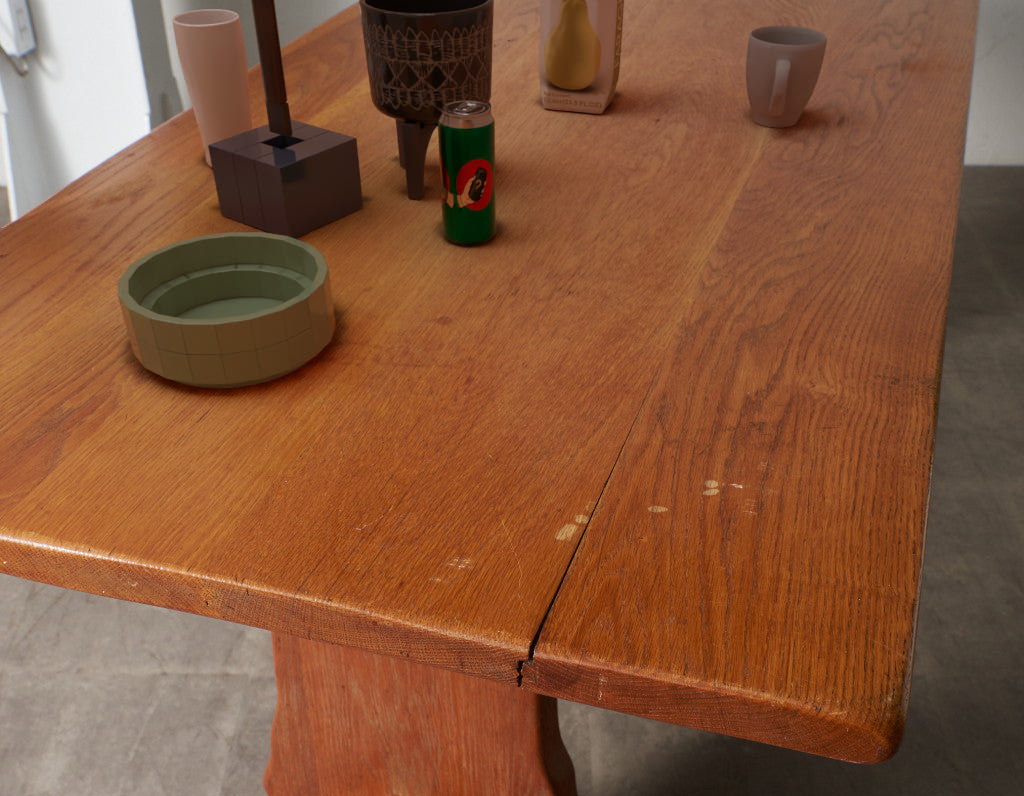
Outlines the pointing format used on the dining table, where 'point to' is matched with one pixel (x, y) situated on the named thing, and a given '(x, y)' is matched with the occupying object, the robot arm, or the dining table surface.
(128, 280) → the bowl
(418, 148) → the planter
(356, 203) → the holder
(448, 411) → the dining table surface
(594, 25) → the juice carton
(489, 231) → the soda can
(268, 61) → the dark brown square rod
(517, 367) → the dining table surface
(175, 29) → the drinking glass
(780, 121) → the mug
